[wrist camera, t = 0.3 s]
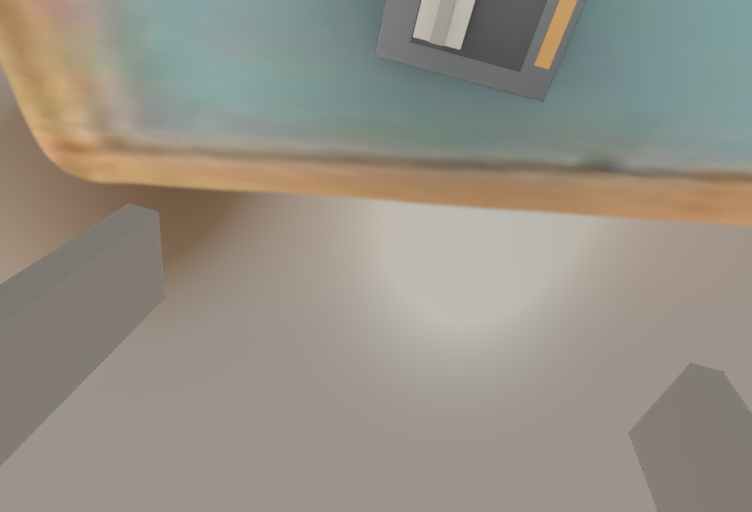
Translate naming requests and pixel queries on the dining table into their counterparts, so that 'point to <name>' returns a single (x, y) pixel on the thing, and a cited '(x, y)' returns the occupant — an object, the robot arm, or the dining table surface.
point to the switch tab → (443, 21)
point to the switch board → (488, 43)
